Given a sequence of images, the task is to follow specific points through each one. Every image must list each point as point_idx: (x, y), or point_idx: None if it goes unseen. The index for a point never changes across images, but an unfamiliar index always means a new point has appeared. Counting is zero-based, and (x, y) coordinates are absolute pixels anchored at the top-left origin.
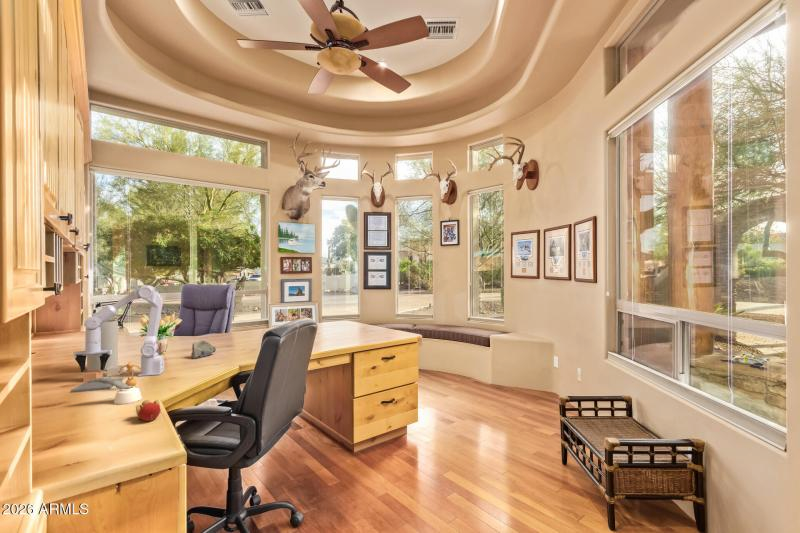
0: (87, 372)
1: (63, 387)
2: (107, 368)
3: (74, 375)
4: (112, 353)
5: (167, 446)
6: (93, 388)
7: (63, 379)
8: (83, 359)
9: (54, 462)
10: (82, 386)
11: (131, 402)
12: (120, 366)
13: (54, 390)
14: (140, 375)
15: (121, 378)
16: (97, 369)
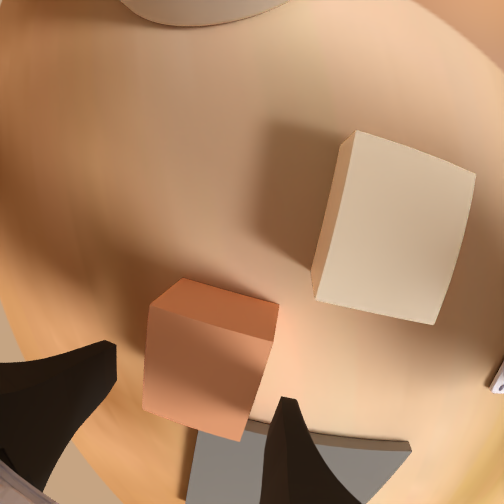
0: (153, 375)
1: (110, 414)
2: (321, 297)
3: (65, 93)
4: None
5: None
6: None
7: (34, 194)
8: (37, 438)
9: None
10: (214, 497)
11: None
12: (451, 260)
13: (100, 436)
14: (499, 392)
15: (401, 456)
16: (188, 20)
